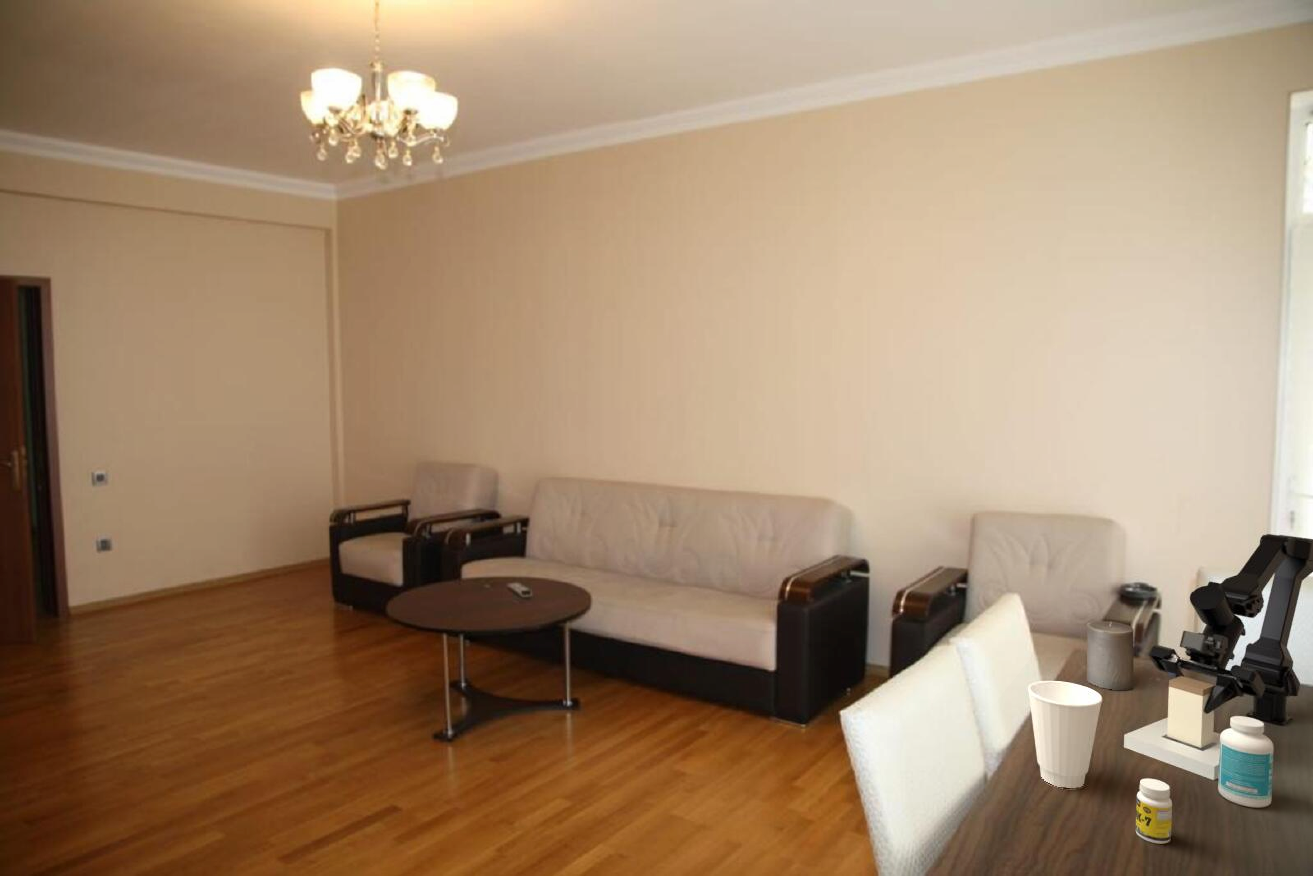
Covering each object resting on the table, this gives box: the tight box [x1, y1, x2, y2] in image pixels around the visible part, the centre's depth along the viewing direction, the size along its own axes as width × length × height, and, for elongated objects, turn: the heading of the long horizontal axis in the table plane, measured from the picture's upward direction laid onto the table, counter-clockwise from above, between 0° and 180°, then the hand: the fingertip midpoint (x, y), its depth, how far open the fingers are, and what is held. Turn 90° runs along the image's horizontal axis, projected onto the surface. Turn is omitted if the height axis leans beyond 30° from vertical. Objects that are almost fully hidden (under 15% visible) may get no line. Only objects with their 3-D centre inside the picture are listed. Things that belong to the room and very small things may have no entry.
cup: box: [1027, 680, 1103, 788], centre depth 148 cm, size 12×12×16 cm
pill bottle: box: [1217, 715, 1275, 808], centre depth 141 cm, size 8×7×14 cm
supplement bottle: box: [1135, 778, 1173, 845], centre depth 130 cm, size 5×5×8 cm
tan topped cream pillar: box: [1167, 676, 1216, 748], centre depth 159 cm, size 4×6×11 cm
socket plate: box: [1123, 716, 1221, 781], centre depth 159 cm, size 16×16×2 cm
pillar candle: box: [1086, 620, 1135, 691], centre depth 196 cm, size 10×10×15 cm
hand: (1187, 706), depth 158 cm, fingers closed on tan topped cream pillar, 6 cm apart
